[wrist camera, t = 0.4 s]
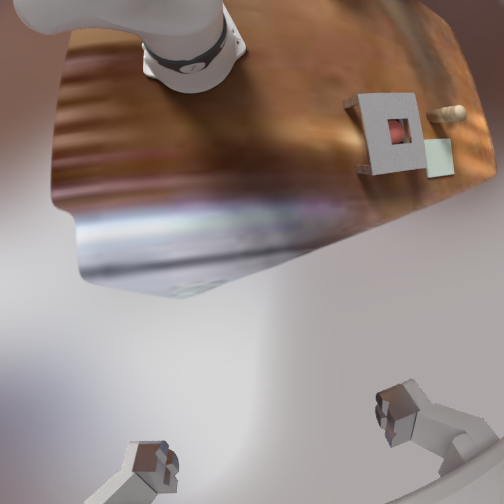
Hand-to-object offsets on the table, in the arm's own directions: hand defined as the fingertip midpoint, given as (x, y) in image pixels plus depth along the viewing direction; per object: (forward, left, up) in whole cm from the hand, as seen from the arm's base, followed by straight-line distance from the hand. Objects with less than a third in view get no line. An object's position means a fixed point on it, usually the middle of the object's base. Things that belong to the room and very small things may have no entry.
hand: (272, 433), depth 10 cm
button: (-10, +30, -44) cm, 55 cm away
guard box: (-10, +29, -47) cm, 56 cm away
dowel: (-13, +44, -47) cm, 66 cm away
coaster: (-4, +44, -47) cm, 64 cm away
